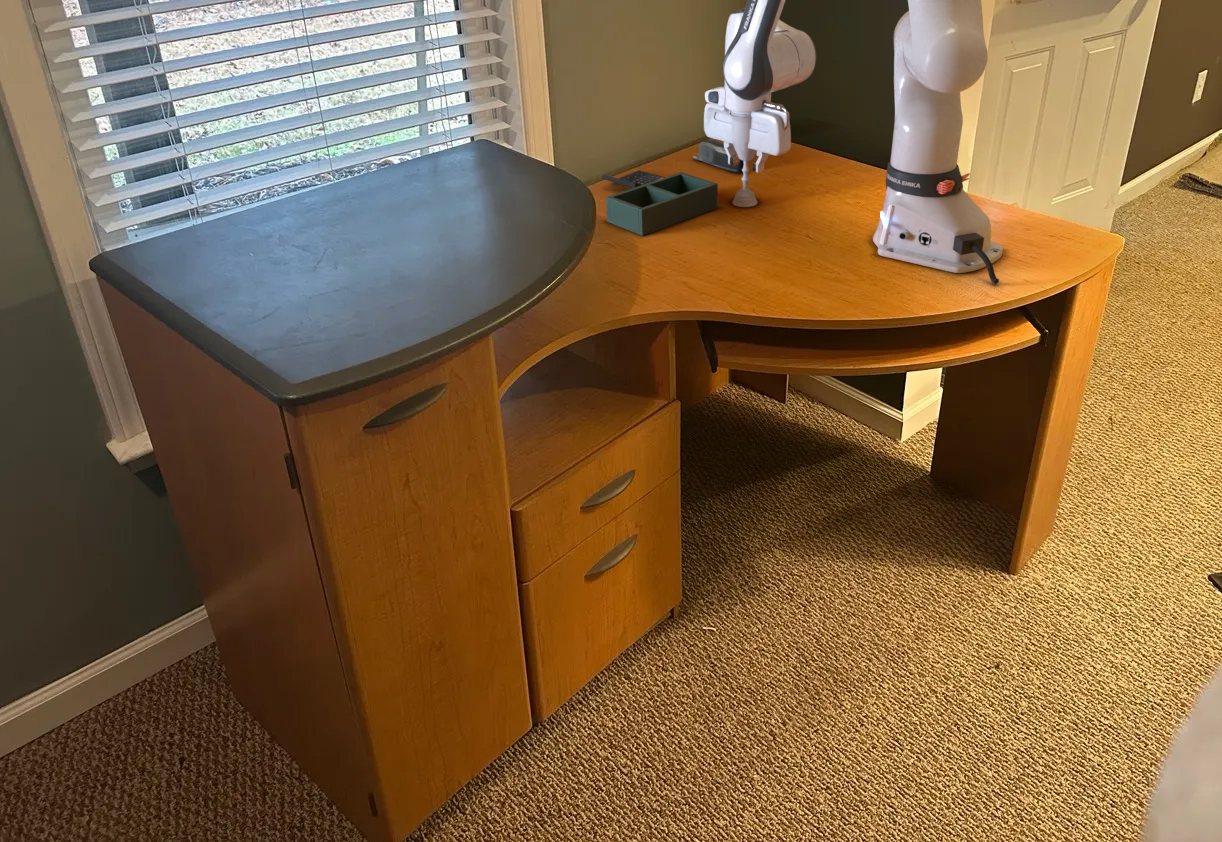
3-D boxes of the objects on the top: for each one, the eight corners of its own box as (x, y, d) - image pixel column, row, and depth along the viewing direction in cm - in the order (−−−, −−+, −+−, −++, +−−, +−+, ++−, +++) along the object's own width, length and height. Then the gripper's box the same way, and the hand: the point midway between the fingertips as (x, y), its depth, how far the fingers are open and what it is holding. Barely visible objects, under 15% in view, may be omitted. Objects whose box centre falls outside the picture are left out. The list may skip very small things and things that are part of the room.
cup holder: (717, 208, 196) (717, 183, 194) (642, 236, 186) (641, 210, 183) (681, 196, 203) (681, 171, 201) (607, 222, 193) (605, 197, 190)
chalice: (752, 211, 194) (755, 119, 185) (721, 205, 197) (723, 115, 188) (767, 199, 199) (771, 109, 190) (737, 194, 203) (739, 105, 193)
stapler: (749, 150, 212) (700, 134, 221) (739, 153, 210) (691, 137, 220) (748, 172, 214) (700, 156, 224) (738, 175, 213) (690, 159, 223)
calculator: (671, 182, 211) (671, 168, 209) (634, 197, 204) (634, 183, 202) (638, 174, 216) (638, 160, 215) (602, 188, 210) (601, 174, 208)
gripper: (800, 102, 182) (796, 175, 189) (721, 84, 196) (720, 153, 203) (777, 109, 179) (774, 183, 186) (698, 91, 192) (698, 160, 200)
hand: (745, 167), depth 195 cm, fingers closed on chalice, 5 cm apart
